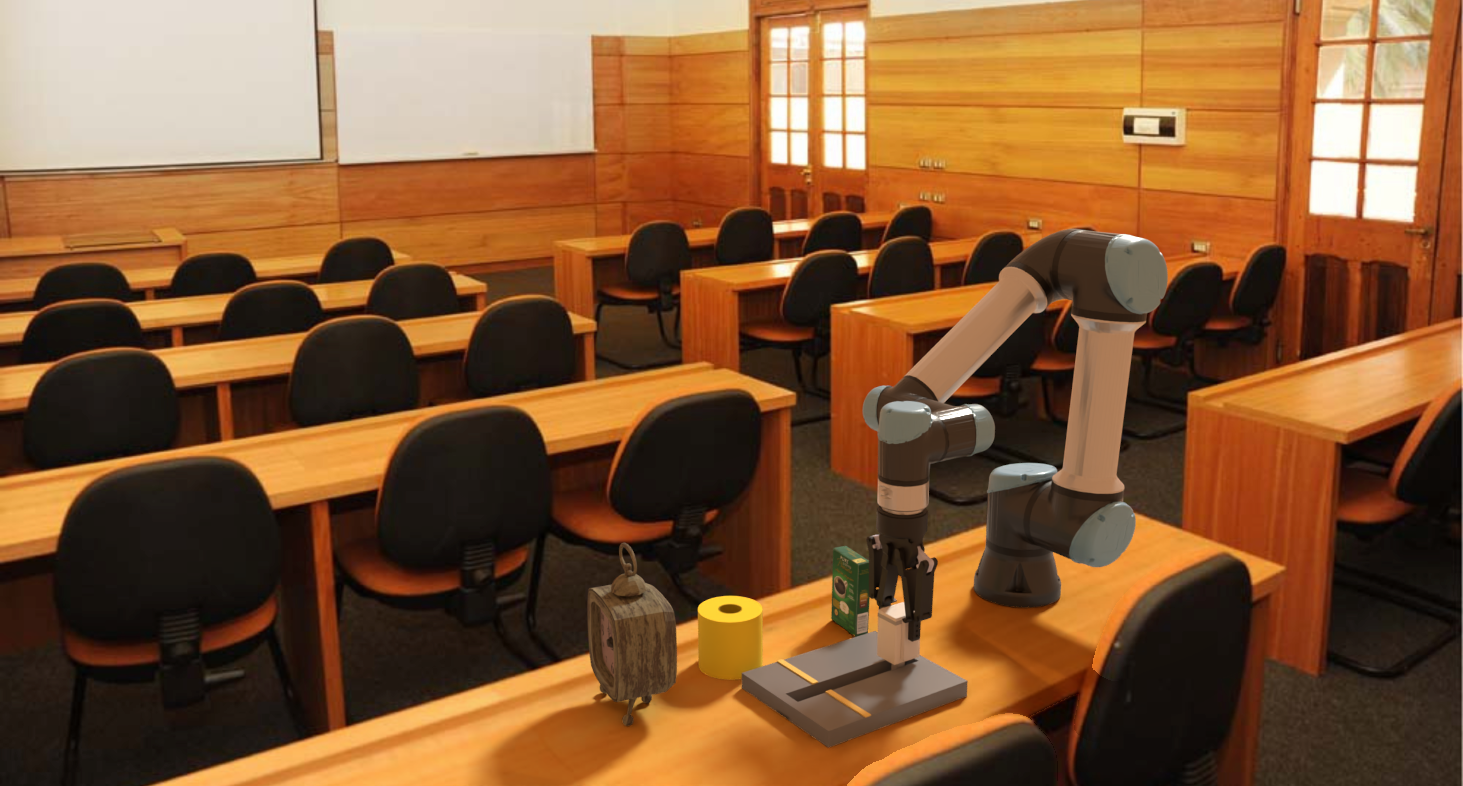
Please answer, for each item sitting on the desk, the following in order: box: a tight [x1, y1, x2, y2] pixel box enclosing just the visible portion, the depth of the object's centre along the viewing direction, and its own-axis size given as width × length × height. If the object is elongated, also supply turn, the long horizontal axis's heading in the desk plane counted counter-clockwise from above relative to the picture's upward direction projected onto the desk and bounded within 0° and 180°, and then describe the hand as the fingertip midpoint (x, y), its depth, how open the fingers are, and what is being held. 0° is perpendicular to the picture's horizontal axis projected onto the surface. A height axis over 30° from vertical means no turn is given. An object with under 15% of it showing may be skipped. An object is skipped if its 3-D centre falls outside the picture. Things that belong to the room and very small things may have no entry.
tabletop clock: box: [586, 542, 678, 727], centre depth 182 cm, size 14×9×25 cm, turn 23°
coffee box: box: [830, 545, 871, 637], centre depth 209 cm, size 8×3×13 cm, turn 27°
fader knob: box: [877, 601, 921, 670], centre depth 192 cm, size 5×4×10 cm
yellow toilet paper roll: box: [697, 595, 764, 681], centre depth 197 cm, size 10×10×9 cm
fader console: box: [741, 630, 969, 749], centre depth 188 cm, size 26×21×3 cm
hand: (898, 651), depth 192 cm, fingers closed on fader knob, 4 cm apart
